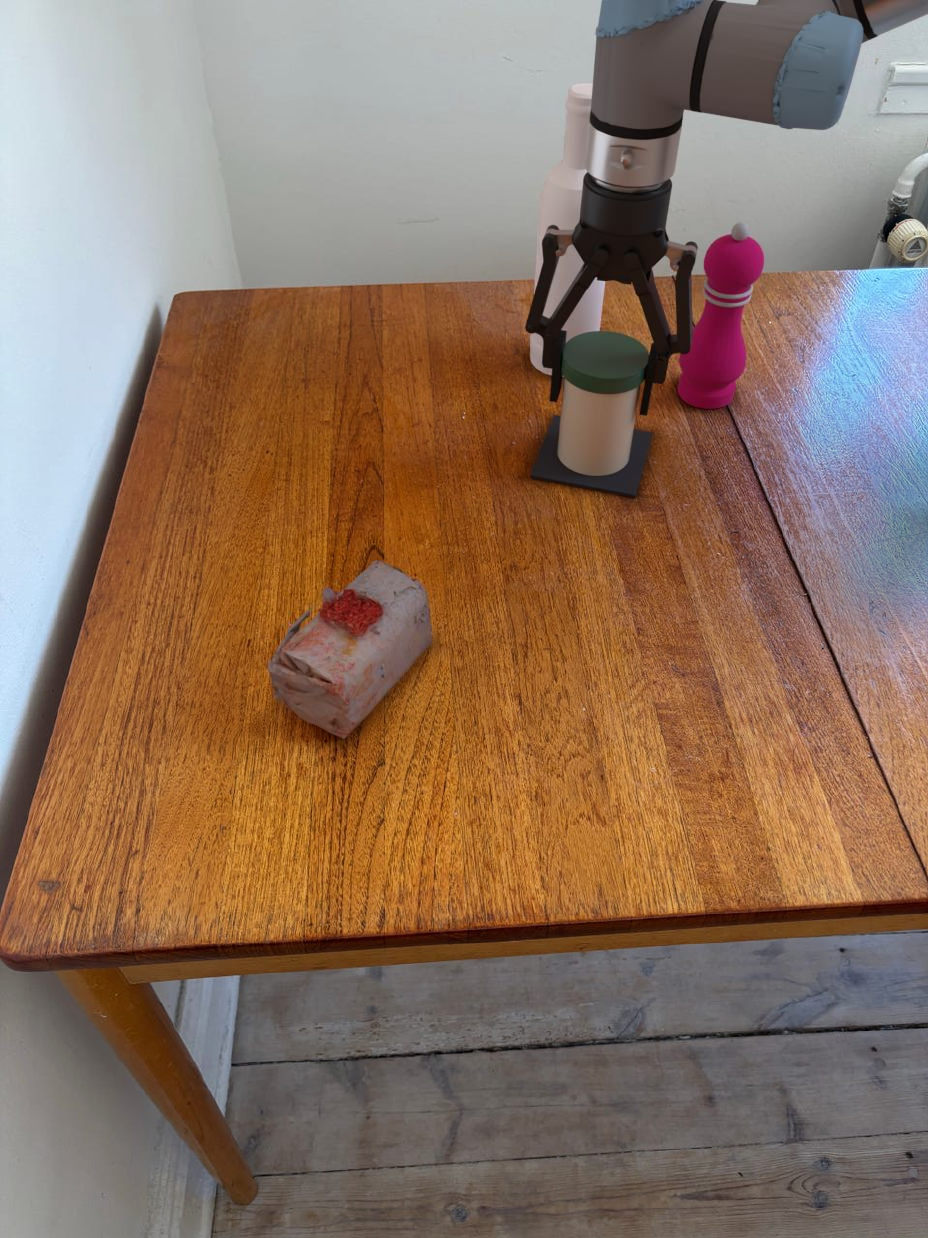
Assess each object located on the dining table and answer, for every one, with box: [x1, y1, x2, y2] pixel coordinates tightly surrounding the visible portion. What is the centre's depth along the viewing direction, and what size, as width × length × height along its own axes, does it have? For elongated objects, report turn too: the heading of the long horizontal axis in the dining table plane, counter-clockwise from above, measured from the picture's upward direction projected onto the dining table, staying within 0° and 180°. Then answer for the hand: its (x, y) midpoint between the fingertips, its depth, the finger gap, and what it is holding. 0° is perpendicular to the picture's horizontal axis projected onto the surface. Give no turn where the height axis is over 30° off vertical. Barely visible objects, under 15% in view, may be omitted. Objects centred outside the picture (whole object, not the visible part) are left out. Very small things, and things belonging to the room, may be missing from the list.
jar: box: [557, 377, 642, 476], centre depth 102 cm, size 8×8×12 cm
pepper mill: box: [677, 221, 765, 410], centre depth 107 cm, size 7×7×20 cm
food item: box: [267, 560, 434, 740], centre depth 82 cm, size 14×8×10 cm, turn 147°
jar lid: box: [561, 330, 650, 394], centre depth 98 cm, size 8×8×2 cm
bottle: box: [529, 82, 606, 378], centre depth 108 cm, size 8×8×30 cm
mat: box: [529, 414, 654, 499], centre depth 106 cm, size 11×11×1 cm
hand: (599, 400), depth 102 cm, fingers closed on jar lid, 8 cm apart
